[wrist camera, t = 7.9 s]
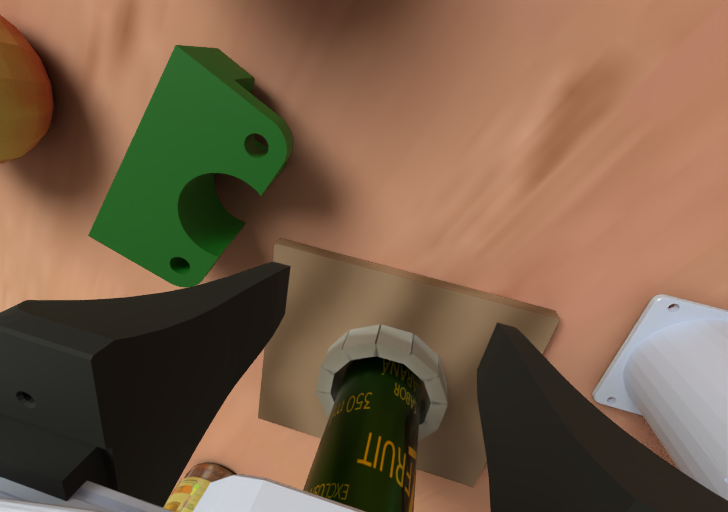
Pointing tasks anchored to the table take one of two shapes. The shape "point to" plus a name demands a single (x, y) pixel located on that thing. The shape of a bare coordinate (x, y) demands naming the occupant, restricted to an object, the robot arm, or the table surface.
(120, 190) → the clamp
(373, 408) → the beer can
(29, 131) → the apple
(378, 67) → the table surface
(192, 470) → the sauce bottle
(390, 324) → the collar board
